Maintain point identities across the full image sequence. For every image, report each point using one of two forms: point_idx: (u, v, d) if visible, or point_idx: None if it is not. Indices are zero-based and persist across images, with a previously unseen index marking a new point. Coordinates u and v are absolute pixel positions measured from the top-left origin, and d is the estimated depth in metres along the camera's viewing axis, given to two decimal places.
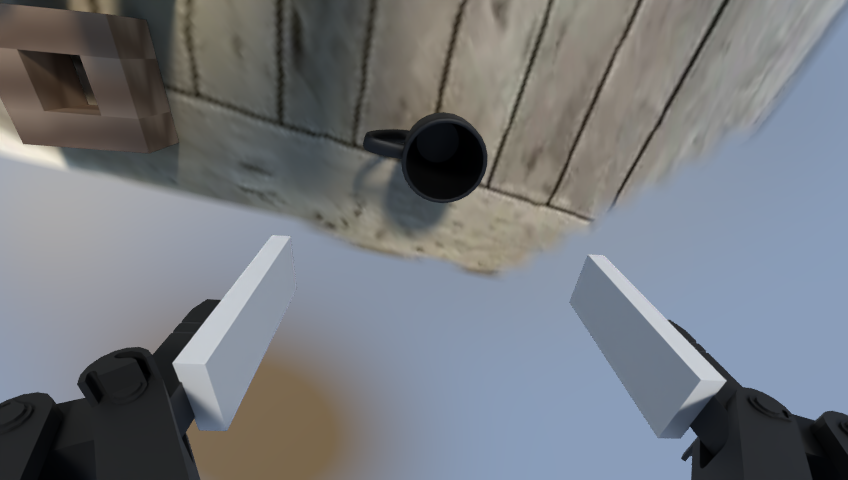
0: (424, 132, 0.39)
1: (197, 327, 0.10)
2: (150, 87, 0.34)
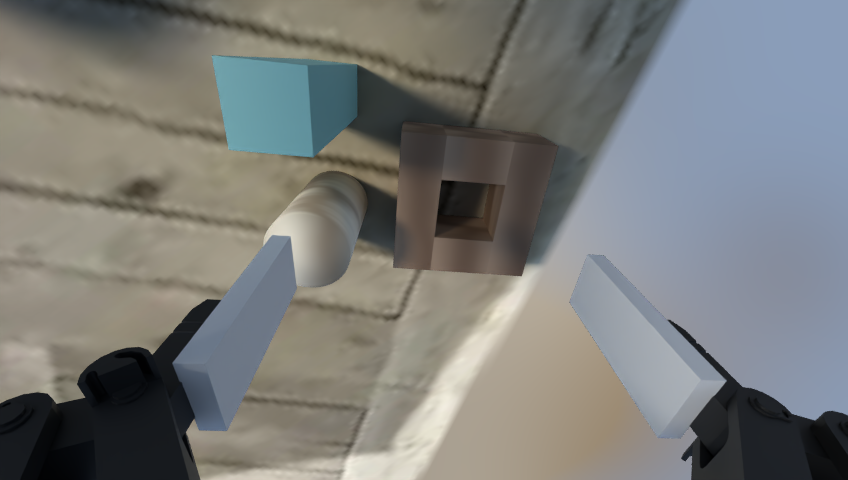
0: None
1: (197, 327, 0.10)
2: (474, 131, 0.27)
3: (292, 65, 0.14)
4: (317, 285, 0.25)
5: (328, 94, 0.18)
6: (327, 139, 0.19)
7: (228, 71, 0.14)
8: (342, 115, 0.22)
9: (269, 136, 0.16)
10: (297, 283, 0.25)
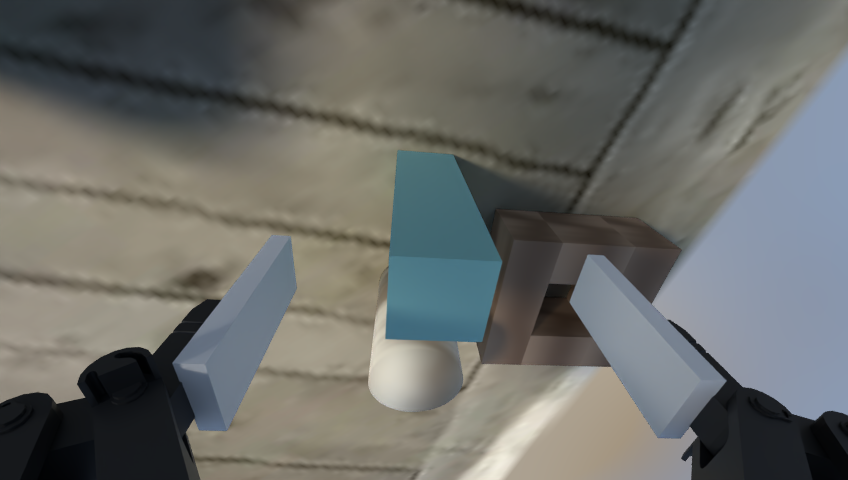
0: None
1: (197, 327, 0.10)
2: (579, 225, 0.25)
3: (484, 262, 0.12)
4: (420, 409, 0.22)
5: None
6: None
7: (404, 269, 0.12)
8: None
9: (436, 325, 0.13)
10: (399, 408, 0.22)
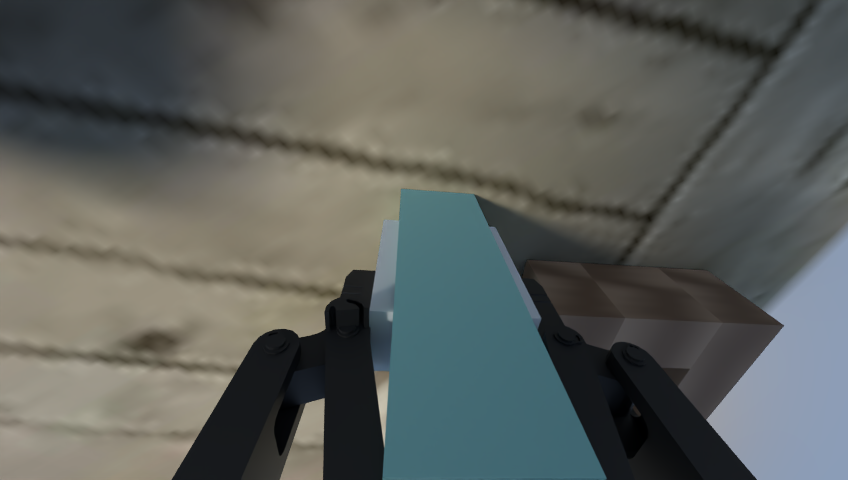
0: None
1: (358, 289, 0.12)
2: (637, 284, 0.19)
3: (571, 479, 0.06)
4: None
5: None
6: None
7: None
8: None
9: None
10: None
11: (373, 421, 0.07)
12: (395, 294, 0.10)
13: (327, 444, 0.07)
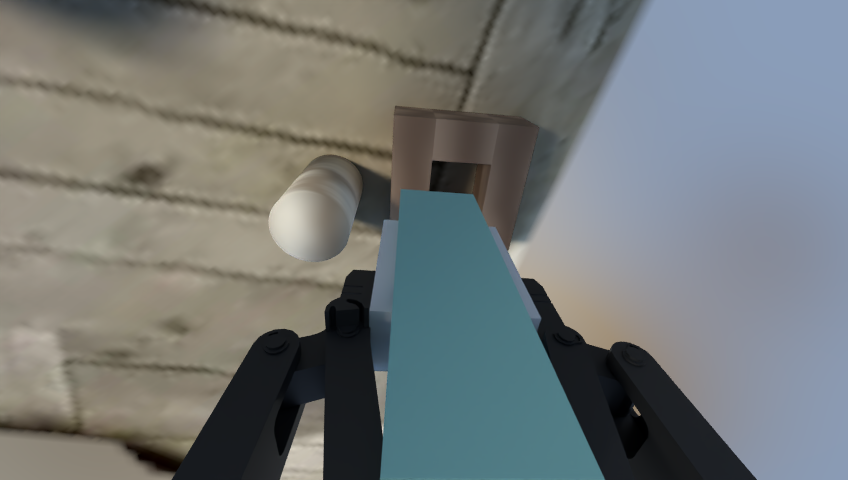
0: None
1: (358, 289, 0.12)
2: (462, 115, 0.29)
3: None
4: (319, 259, 0.27)
5: None
6: None
7: None
8: None
9: None
10: (300, 258, 0.27)
11: (373, 421, 0.07)
12: (394, 294, 0.10)
13: (327, 444, 0.07)
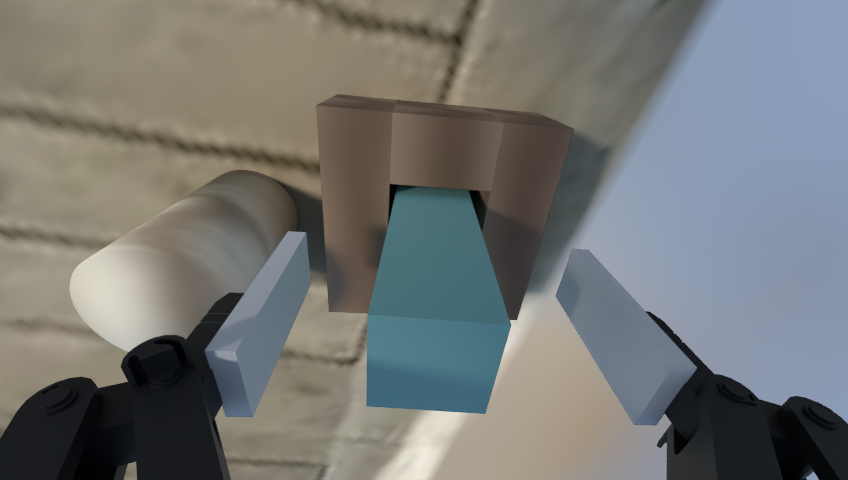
0: None
1: (222, 318, 0.10)
2: (442, 108, 0.18)
3: (487, 325, 0.09)
4: None
5: None
6: None
7: (388, 331, 0.09)
8: None
9: (428, 393, 0.11)
10: None
11: (211, 474, 0.06)
12: (387, 232, 0.13)
13: None
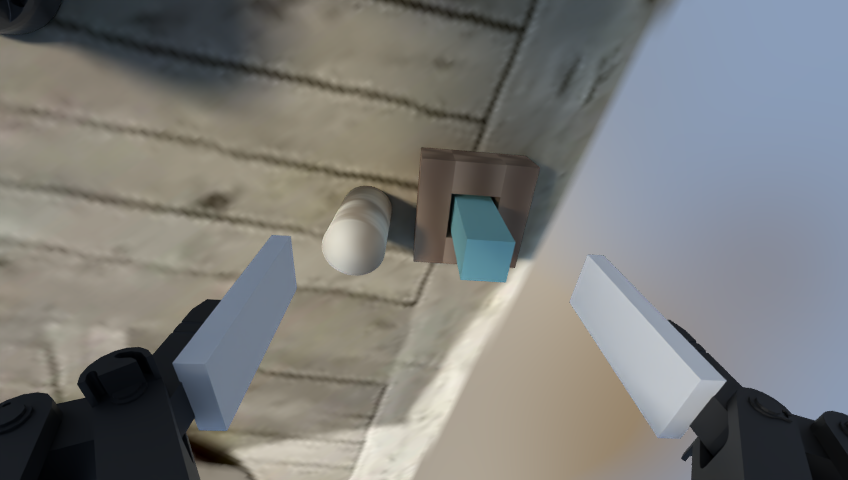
0: None
1: (197, 327, 0.10)
2: (476, 156, 0.36)
3: (507, 242, 0.27)
4: (359, 273, 0.33)
5: None
6: None
7: (473, 245, 0.27)
8: None
9: (484, 273, 0.28)
10: (344, 272, 0.33)
11: None
12: (460, 214, 0.31)
13: None
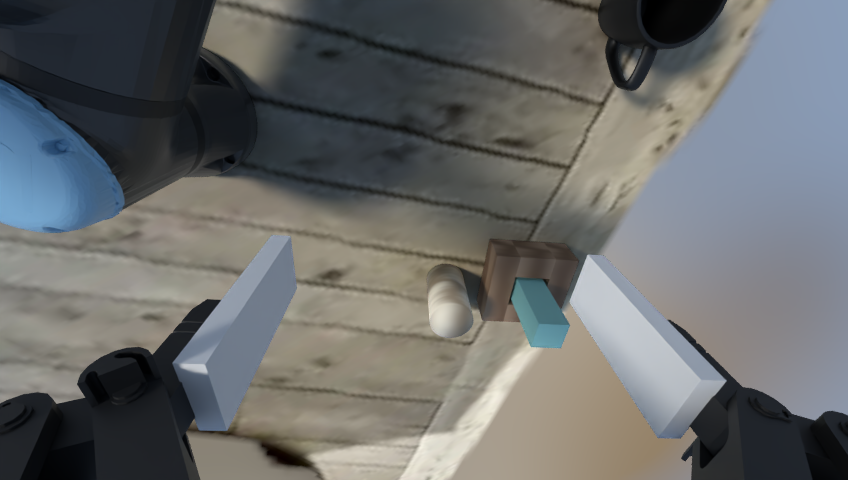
0: None
1: (197, 327, 0.10)
2: (531, 248, 0.49)
3: (564, 325, 0.41)
4: (452, 336, 0.47)
5: None
6: None
7: (542, 327, 0.41)
8: None
9: (547, 342, 0.42)
10: (442, 335, 0.47)
11: None
12: (526, 298, 0.45)
13: None
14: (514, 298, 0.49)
